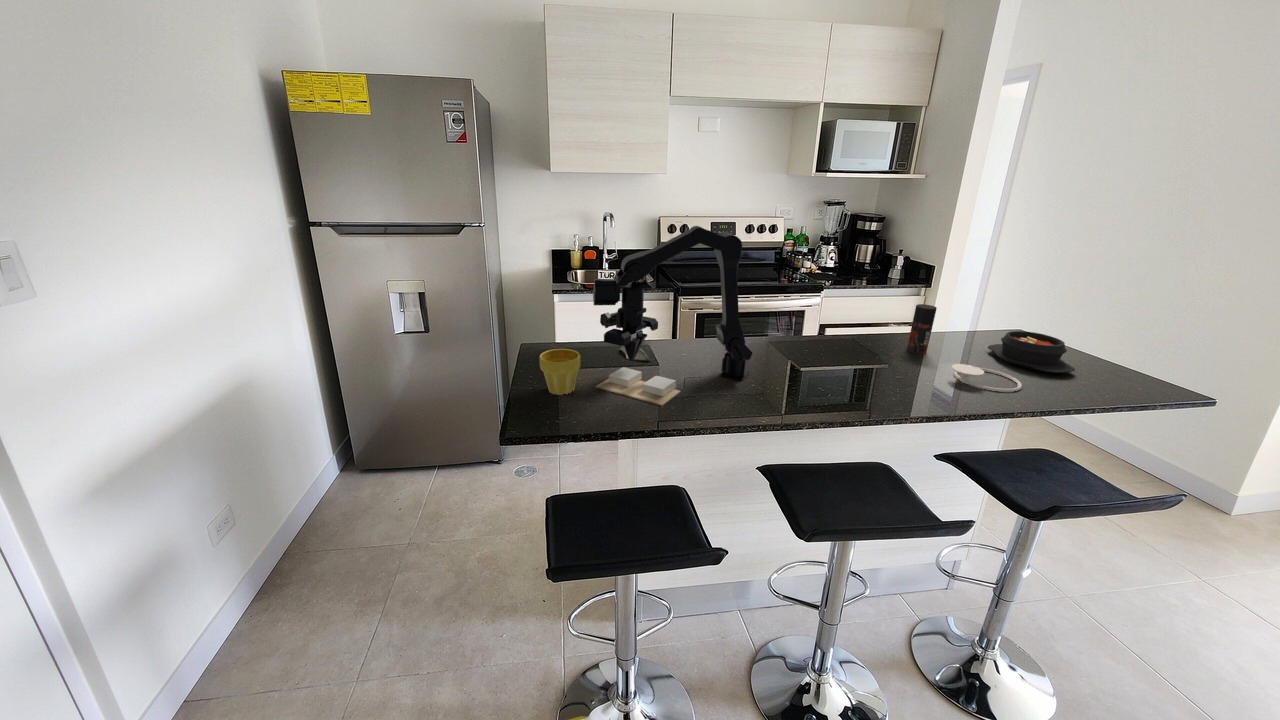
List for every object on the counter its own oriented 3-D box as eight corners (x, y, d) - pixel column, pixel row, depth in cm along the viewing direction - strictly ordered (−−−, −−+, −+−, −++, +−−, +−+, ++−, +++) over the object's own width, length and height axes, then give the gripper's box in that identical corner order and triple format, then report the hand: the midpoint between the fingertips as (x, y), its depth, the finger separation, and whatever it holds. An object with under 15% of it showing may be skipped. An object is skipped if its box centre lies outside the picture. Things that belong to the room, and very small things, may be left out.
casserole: (1089, 376, 159) (1099, 350, 156) (1038, 380, 155) (1047, 353, 152) (1017, 348, 182) (1024, 325, 179) (971, 351, 178) (977, 327, 175)
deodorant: (911, 346, 181) (921, 303, 175) (929, 351, 176) (940, 307, 171) (903, 349, 177) (912, 305, 172) (921, 355, 173) (931, 310, 168)
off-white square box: (675, 380, 141) (663, 389, 135) (675, 387, 142) (662, 397, 136) (656, 375, 144) (642, 384, 138) (655, 382, 145) (642, 391, 139)
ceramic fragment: (651, 362, 161) (651, 350, 160) (637, 366, 158) (638, 353, 157) (624, 350, 171) (624, 338, 170) (610, 353, 168) (610, 341, 167)
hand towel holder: (1041, 376, 147) (981, 382, 142) (1036, 391, 148) (976, 397, 143) (989, 355, 162) (933, 359, 157) (985, 368, 164) (929, 373, 159)
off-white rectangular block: (641, 371, 146) (628, 380, 140) (641, 379, 147) (627, 387, 141) (623, 367, 149) (609, 375, 143) (623, 374, 150) (609, 382, 144)
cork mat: (680, 392, 140) (680, 390, 140) (662, 406, 132) (662, 404, 132) (616, 375, 150) (616, 374, 150) (595, 387, 142) (595, 386, 142)
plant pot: (533, 388, 140) (531, 353, 137) (567, 379, 146) (566, 345, 143) (554, 402, 133) (553, 365, 129) (588, 391, 139) (588, 356, 135)
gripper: (625, 293, 152) (624, 345, 157) (586, 307, 137) (587, 364, 142) (660, 299, 146) (657, 352, 152) (623, 314, 131) (622, 373, 137)
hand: (631, 360), depth 146 cm, fingers closed
